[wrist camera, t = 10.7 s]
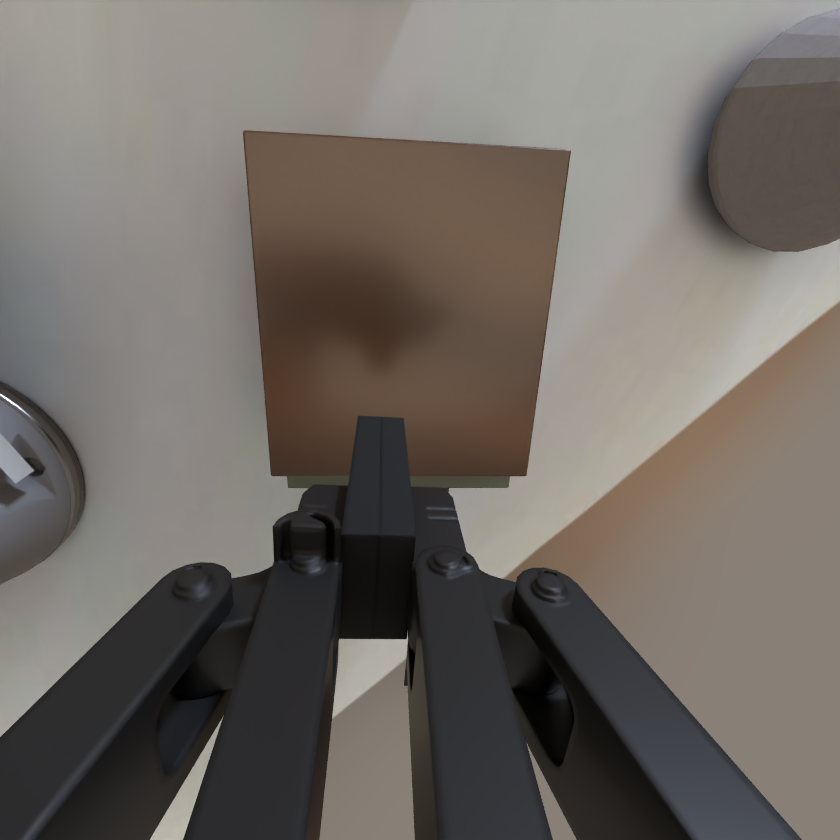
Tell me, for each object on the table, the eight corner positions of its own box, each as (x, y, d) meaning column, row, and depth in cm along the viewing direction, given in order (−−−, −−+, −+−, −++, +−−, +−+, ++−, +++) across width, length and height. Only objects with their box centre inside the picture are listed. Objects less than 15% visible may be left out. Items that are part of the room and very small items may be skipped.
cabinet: (490, 413, 34) (526, 476, 25) (299, 411, 33) (270, 476, 24) (514, 172, 28) (571, 149, 20) (286, 160, 27) (242, 130, 19)
